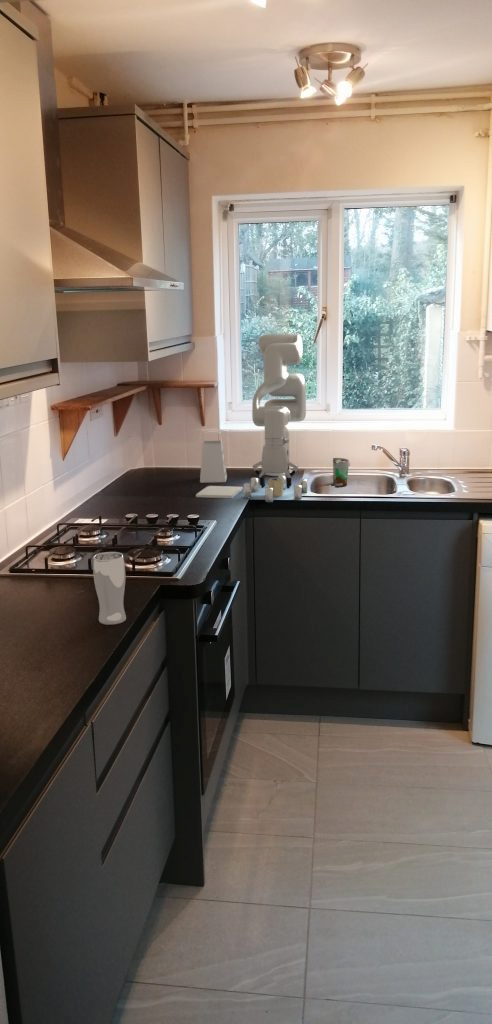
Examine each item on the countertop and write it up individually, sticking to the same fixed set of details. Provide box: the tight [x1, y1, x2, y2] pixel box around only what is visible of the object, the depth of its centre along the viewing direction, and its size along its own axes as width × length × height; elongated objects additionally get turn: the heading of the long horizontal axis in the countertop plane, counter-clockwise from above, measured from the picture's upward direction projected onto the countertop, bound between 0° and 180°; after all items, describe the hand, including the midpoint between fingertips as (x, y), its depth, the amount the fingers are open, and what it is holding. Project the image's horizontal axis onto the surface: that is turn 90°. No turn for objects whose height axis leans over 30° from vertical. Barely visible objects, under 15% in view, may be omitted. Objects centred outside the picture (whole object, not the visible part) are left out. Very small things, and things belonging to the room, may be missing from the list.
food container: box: [332, 457, 351, 489], centre depth 319 cm, size 12×6×10 cm, turn 179°
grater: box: [199, 430, 228, 483], centre depth 335 cm, size 10×10×20 cm
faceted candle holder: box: [267, 477, 284, 497], centre depth 305 cm, size 6×5×6 cm
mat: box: [195, 485, 244, 499], centre depth 312 cm, size 16×14×1 cm
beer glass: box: [92, 551, 127, 626], centre depth 182 cm, size 7×7×15 cm
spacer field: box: [243, 476, 308, 503], centre depth 306 cm, size 25×22×5 cm
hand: (275, 487), depth 305 cm, fingers open, 9 cm apart
